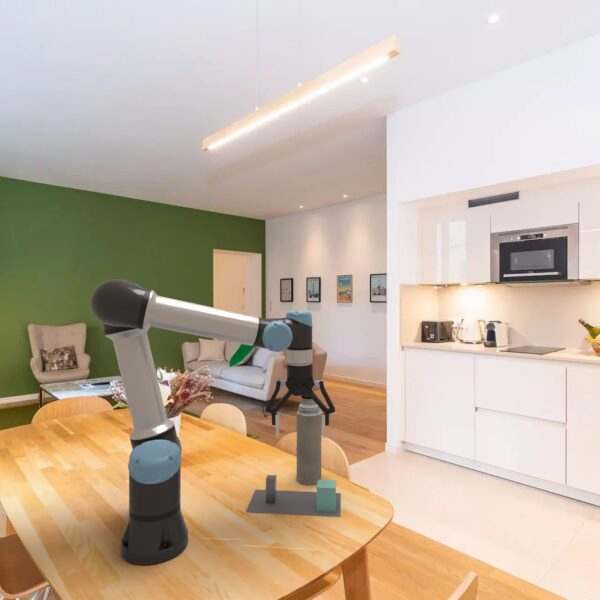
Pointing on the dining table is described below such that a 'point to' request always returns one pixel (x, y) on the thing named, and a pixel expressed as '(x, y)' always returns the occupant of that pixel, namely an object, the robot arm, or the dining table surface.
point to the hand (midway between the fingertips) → (300, 436)
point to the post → (271, 489)
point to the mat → (290, 504)
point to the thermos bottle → (308, 442)
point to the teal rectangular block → (326, 495)
